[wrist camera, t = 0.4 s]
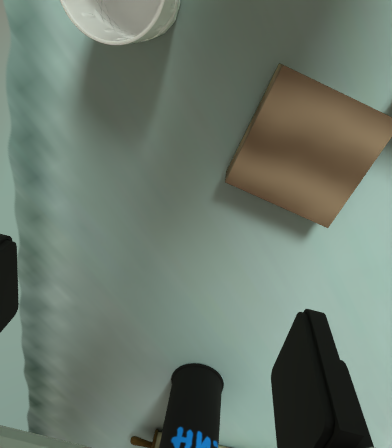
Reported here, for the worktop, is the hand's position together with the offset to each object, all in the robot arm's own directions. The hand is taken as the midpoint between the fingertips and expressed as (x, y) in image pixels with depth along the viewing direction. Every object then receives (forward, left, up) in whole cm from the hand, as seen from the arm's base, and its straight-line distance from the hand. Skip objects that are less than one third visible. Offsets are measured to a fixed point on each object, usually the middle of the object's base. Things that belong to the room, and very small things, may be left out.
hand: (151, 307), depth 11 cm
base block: (-2, +9, -30) cm, 31 cm away
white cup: (-8, -11, -29) cm, 32 cm away
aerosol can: (+37, +14, -29) cm, 49 cm away
